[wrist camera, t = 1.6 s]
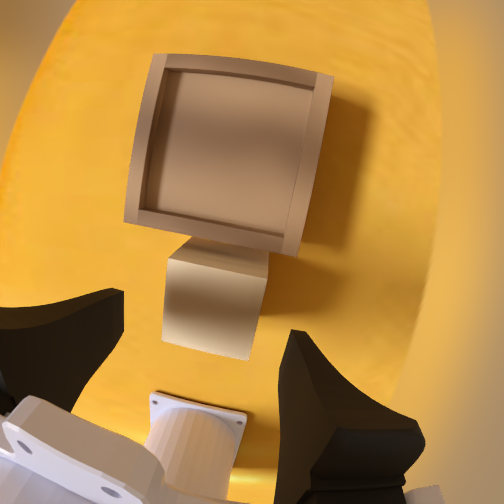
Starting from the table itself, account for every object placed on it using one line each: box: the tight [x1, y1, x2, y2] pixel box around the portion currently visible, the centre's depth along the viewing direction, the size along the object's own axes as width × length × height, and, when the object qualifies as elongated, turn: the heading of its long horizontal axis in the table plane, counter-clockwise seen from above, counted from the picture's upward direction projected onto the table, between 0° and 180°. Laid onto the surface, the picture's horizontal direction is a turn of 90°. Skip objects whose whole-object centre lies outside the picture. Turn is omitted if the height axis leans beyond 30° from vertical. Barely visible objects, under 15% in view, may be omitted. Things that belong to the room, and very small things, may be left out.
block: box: [162, 236, 269, 361], centre depth 16 cm, size 4×4×5 cm
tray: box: [124, 54, 334, 257], centre depth 15 cm, size 9×9×3 cm
